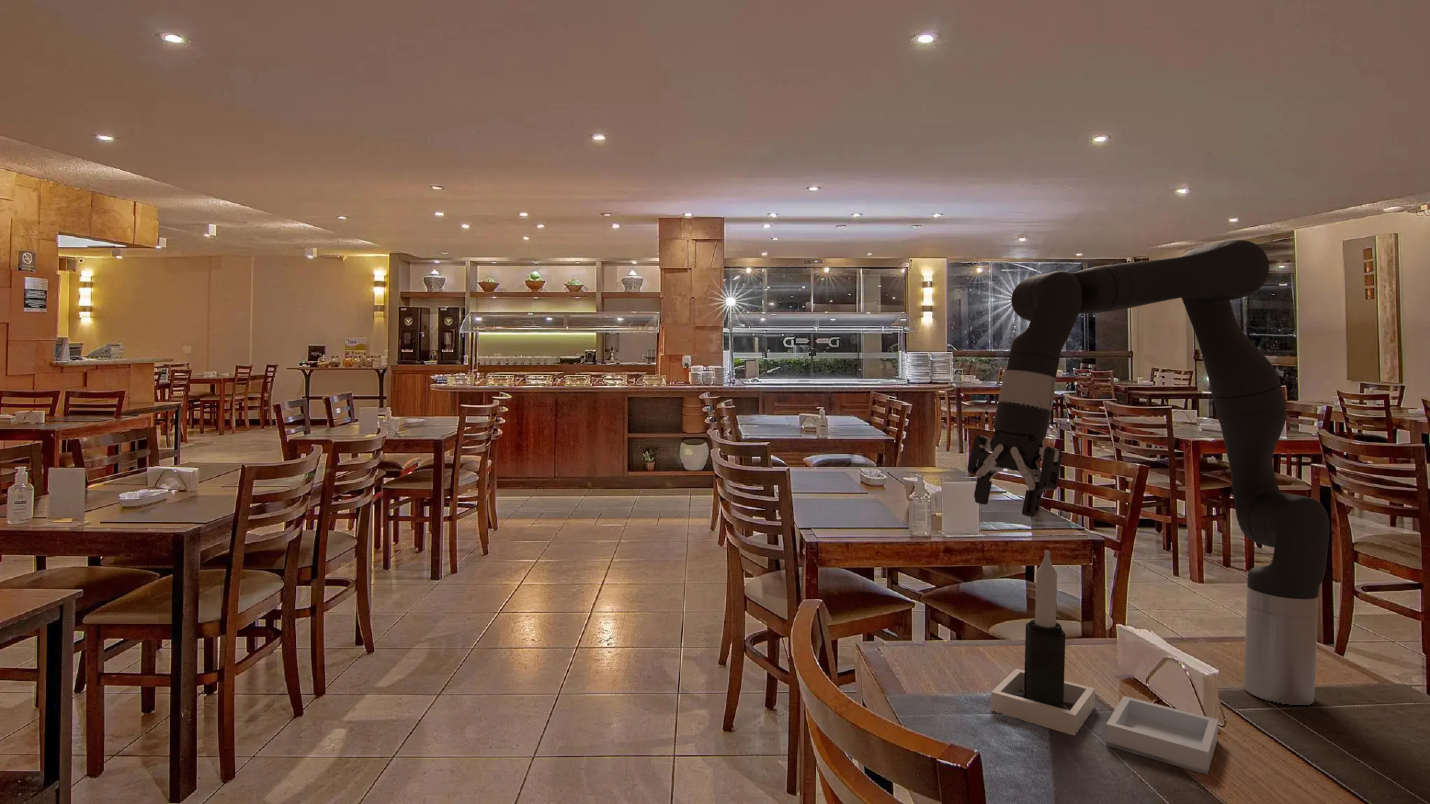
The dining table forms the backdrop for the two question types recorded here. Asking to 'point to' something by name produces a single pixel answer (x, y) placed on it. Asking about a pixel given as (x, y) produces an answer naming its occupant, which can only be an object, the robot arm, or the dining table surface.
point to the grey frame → (1044, 705)
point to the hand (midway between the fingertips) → (1003, 509)
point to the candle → (1045, 643)
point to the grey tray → (1163, 734)
